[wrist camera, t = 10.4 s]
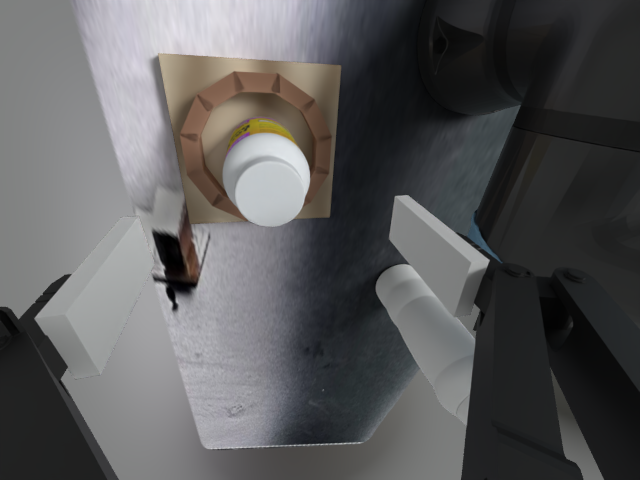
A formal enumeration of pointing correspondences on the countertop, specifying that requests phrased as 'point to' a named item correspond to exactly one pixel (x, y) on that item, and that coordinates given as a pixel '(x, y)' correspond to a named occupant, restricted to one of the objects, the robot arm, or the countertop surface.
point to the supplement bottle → (265, 172)
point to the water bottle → (430, 336)
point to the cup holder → (239, 105)
